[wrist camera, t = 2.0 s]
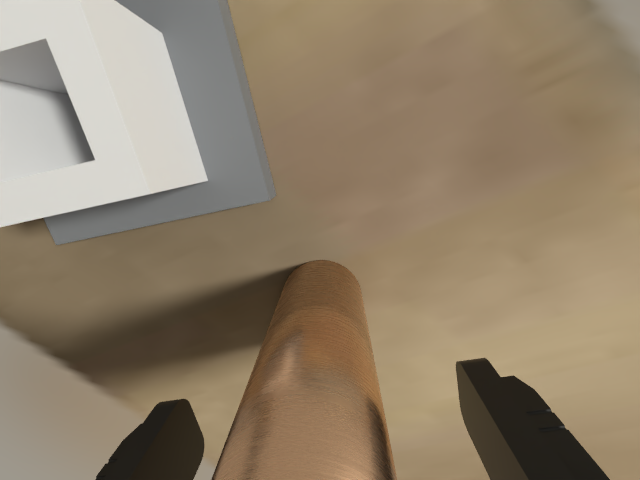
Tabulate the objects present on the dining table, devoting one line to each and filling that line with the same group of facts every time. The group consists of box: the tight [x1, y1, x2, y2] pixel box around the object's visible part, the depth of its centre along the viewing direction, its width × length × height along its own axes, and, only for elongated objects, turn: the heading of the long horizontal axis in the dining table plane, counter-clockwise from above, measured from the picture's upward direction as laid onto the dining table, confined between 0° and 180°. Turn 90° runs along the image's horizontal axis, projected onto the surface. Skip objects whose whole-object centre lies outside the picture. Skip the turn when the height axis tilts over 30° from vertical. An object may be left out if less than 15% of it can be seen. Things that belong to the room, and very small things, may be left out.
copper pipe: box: [212, 260, 397, 480], centre depth 9 cm, size 4×4×12 cm
